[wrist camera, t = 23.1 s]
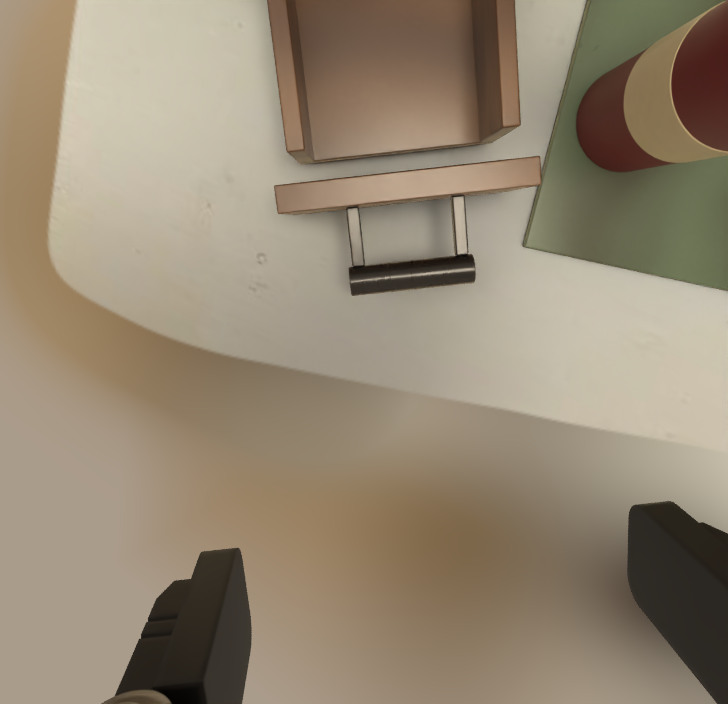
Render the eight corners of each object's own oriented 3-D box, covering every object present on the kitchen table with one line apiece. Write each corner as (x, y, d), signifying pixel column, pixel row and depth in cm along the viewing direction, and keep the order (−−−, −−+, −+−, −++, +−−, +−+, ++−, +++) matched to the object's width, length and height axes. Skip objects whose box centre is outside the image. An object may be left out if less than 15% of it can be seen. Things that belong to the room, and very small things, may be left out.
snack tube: (676, 167, 32) (942, 123, 17) (576, 178, 32) (756, 144, 17) (676, 60, 31) (962, -85, 16) (572, 72, 31) (762, -62, 16)
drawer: (511, 270, 33) (545, 282, 27) (304, 292, 33) (290, 309, 27) (493, -74, 29) (527, -152, 23) (260, -46, 29) (233, -116, 23)
